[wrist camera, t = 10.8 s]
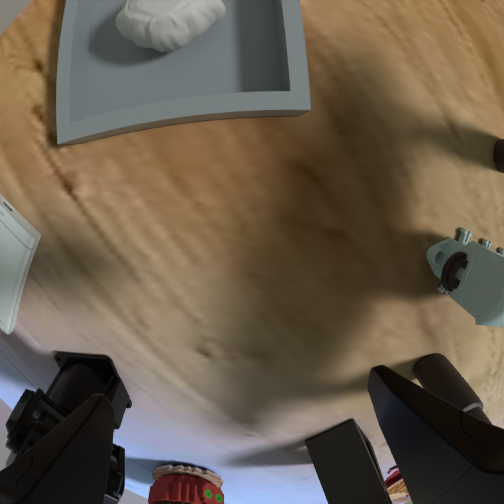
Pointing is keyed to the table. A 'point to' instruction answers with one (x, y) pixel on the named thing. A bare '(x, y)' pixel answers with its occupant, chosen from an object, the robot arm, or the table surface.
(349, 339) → the table surface
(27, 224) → the hard drive
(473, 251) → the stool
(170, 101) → the tray
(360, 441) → the phone stand
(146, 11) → the garlic
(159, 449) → the table surface
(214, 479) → the cake
